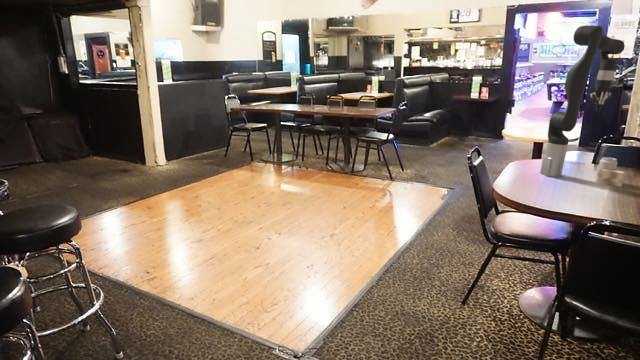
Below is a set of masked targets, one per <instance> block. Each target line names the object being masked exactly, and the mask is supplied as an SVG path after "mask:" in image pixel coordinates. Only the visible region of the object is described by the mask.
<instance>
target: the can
mask: <svg viewBox="0 0 640 360" xmlns="http://www.w3.org/2000/svg"><path fill="white" fill-rule="evenodd" d="M617 167H618V160H617V158H614V157H606V156H602V158H601V159H600V160H599V164H598V168H597V172H596V176H595V179H596V180H597V176H598V172H599V169H606V170H616V171H617Z"/></svg>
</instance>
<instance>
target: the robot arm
mask: <svg viewBox="0 0 640 360" xmlns="http://www.w3.org/2000/svg"><path fill="white" fill-rule="evenodd" d="M603 34H604V28H603V26H601V25H580V26H579V27H577V28H576V29H575V31H574V33H573V42H574V44H576V45H578V46H587V47H586V50H585V52H584V54H583V55H582V56H581V58H580V59H578V61H577V62H576V63H575V64H573V66H571V68H570V69H569V70H568V72H567V74H566V78H565V80H564V91H565V95H566V100H567V105H566V106H567V107H566V110H565V111H556V112H554V113H552V115H551V117H550V118H549V121H548V122H549V123H548V130H547V131H548V132H547V139H548V140H547V146H546V149H545V150H546V151H545V155H543V156H542V157H543V158H542V161H541V166H540V167H541V168H540V172H539V173H540V174H542V175H544V176H546V177H552V178H553V177H554V178H561V177H562V174H563V170H564V165H565V162H566V161H565V159H566V155H567V151H568V146H569V145H568V144H569V138H568V137H567V136H566V135H565V134H564V132H568V133H569V132H571V131H573V130H574V128H575V127H576V125H577V122H578V118H579V112H580V107H581V103H582V99H583V94H584V93H585V90H586V86H587V82H588V80H589V76H590V72H591V68H592V66H593V62H594V59H595V57H596V54H597V51H599V52H600V64H599V65H600V66H599V70H598V73H597V76H596V81H595V89H594V91H593V92H592V93H589V97H590V100H591V101H592V103H594V104H595V107H594V111H595V112H601V111H602V108H603V105H604V104H607V103H608V102H610V100H611V99H612V98H613V97H614V94H612V93H611V88H612V87H613V83H614V79H615V78H614V77H615V71H616V67H617V59H613V58H611V57H610V56H609V55H620V54H622V52H623V51H624V50H625V47H626V45H625V41H623V40H621V39H616V38H612V37H609V36H607V35H603Z"/></svg>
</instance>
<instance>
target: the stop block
mask: <svg viewBox="0 0 640 360" xmlns="http://www.w3.org/2000/svg"><path fill="white" fill-rule="evenodd" d="M597 172H598V171H597ZM596 176H597V175H596ZM625 176H626V173H625V172H624V171H623V170H617V169H616V170H606V169H599V172H598V176H597V179H596V181H595V182H596V184H597V185H602V186H608V187H609V186H611V187H612V186H613V187H623V182H624V179H625Z"/></svg>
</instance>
